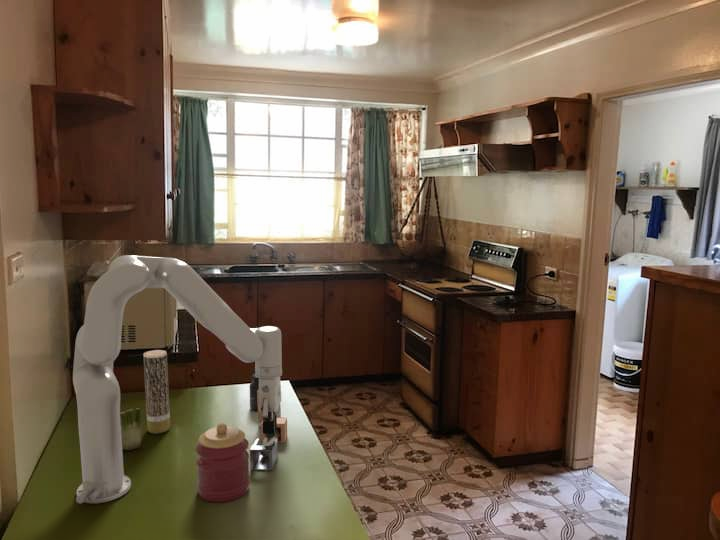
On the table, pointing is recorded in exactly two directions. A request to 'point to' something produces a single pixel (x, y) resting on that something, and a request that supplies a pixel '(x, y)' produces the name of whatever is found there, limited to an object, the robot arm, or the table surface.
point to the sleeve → (260, 461)
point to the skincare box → (260, 414)
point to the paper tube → (157, 391)
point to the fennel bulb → (131, 429)
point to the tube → (270, 439)
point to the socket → (282, 428)
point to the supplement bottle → (254, 393)
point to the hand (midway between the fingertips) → (269, 430)
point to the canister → (222, 464)
